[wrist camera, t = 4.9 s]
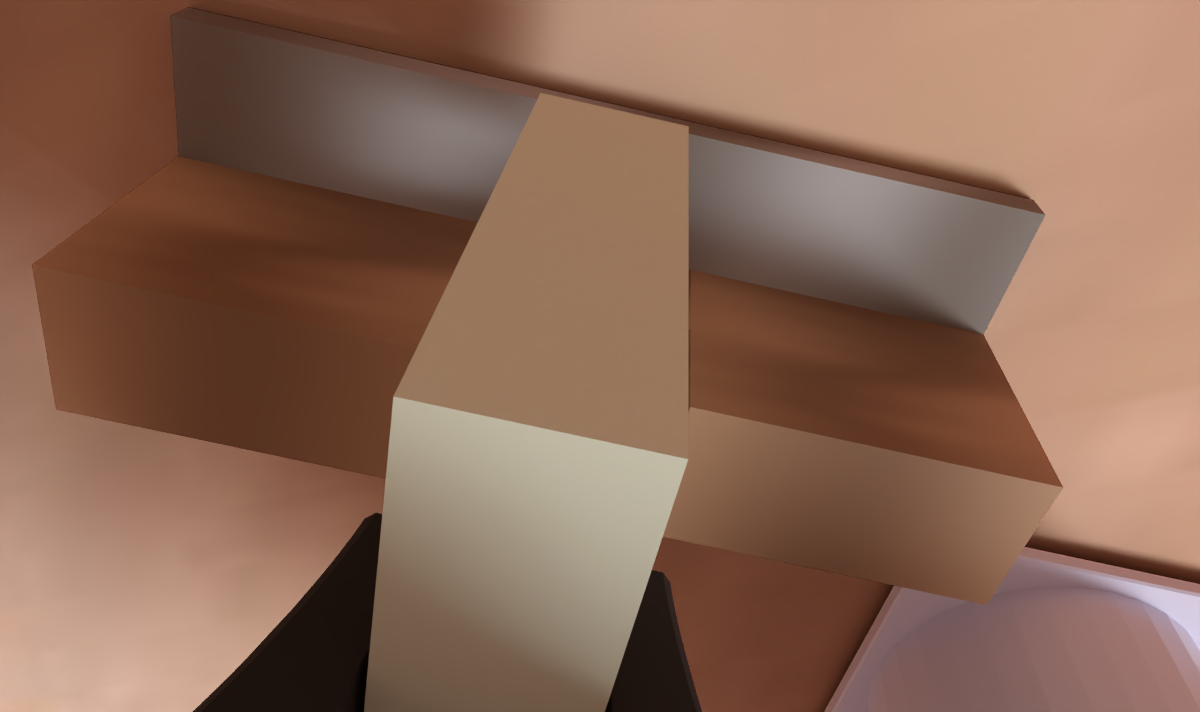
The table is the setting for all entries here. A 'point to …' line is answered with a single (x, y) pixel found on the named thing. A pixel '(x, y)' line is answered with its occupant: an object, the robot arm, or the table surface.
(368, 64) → the slotted base
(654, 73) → the table surface
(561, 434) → the cream h-shaped block
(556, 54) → the table surface
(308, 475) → the table surface
